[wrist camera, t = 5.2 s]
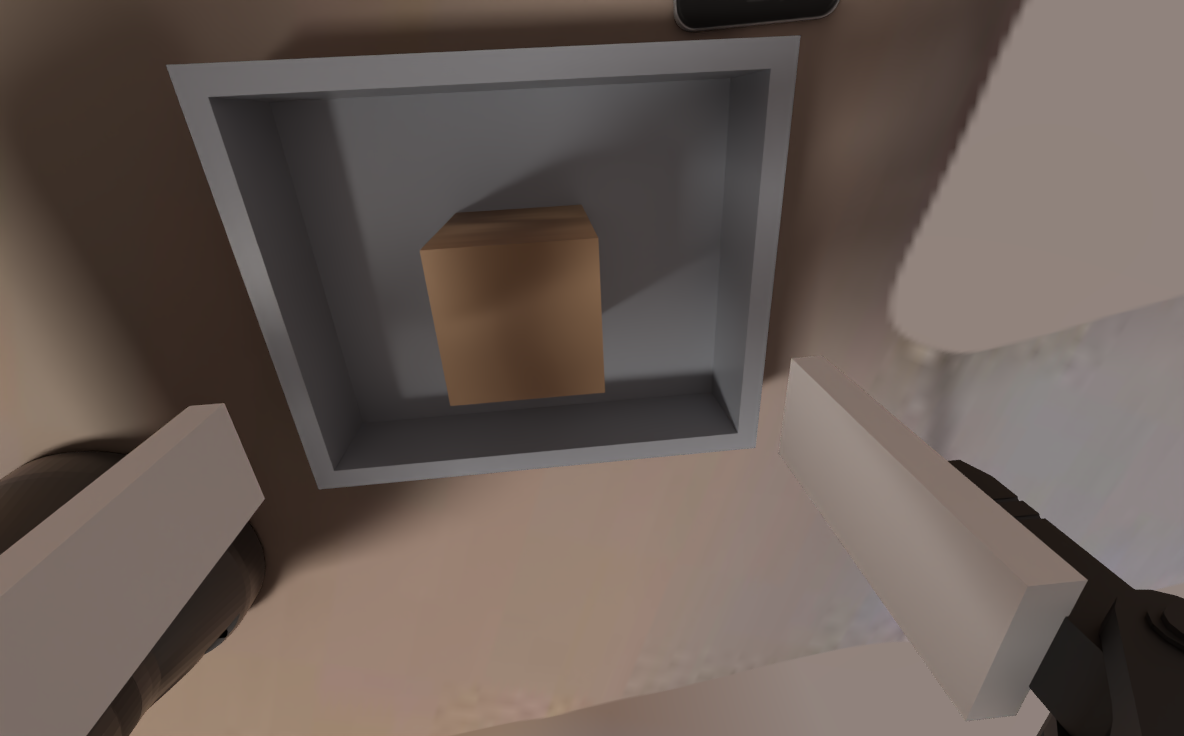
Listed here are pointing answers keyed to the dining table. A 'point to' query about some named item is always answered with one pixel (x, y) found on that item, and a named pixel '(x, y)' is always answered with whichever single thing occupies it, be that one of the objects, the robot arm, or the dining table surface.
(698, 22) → the smartphone
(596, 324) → the walnut block
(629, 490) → the dining table surface
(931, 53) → the dining table surface
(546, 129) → the grey bin
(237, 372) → the dining table surface
